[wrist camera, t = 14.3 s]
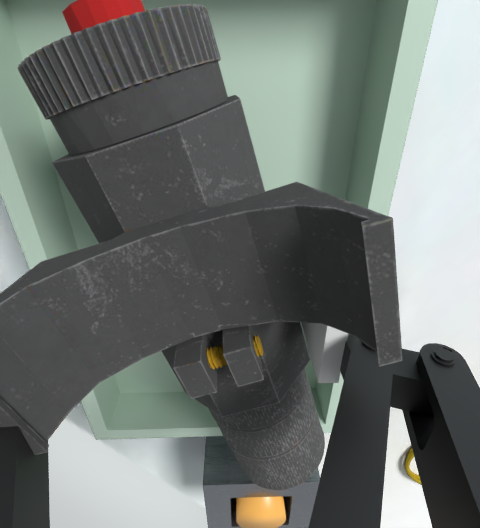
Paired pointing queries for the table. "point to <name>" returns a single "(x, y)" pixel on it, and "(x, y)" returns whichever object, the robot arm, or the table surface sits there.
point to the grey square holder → (247, 489)
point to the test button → (260, 512)
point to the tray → (263, 139)
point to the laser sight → (184, 247)
